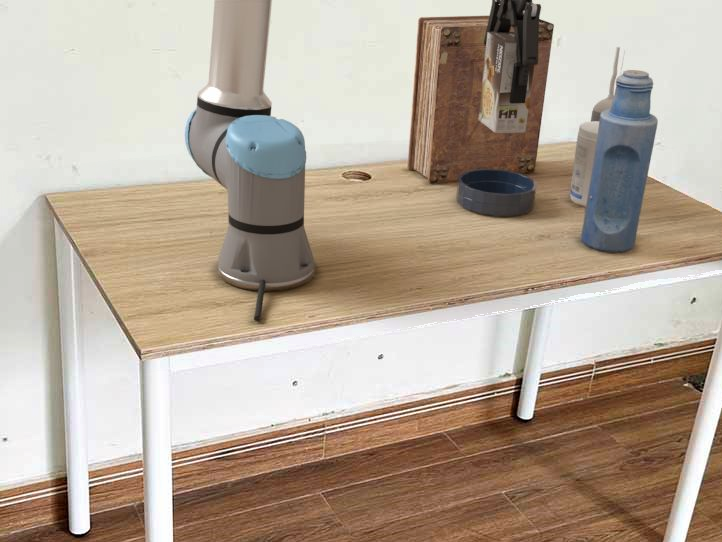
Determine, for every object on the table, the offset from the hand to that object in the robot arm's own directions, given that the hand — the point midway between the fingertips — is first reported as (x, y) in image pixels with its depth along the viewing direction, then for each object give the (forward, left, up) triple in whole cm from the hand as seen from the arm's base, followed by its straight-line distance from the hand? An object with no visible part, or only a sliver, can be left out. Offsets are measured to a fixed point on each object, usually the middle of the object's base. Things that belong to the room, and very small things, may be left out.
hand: (504, 95), depth 192 cm
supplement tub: (-3, -20, -21) cm, 29 cm away
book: (+19, -4, -21) cm, 29 cm away
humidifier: (+16, -33, -21) cm, 43 cm away
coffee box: (0, 0, -6) cm, 6 cm away
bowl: (0, 0, -21) cm, 21 cm away
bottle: (-23, -11, -21) cm, 33 cm away
